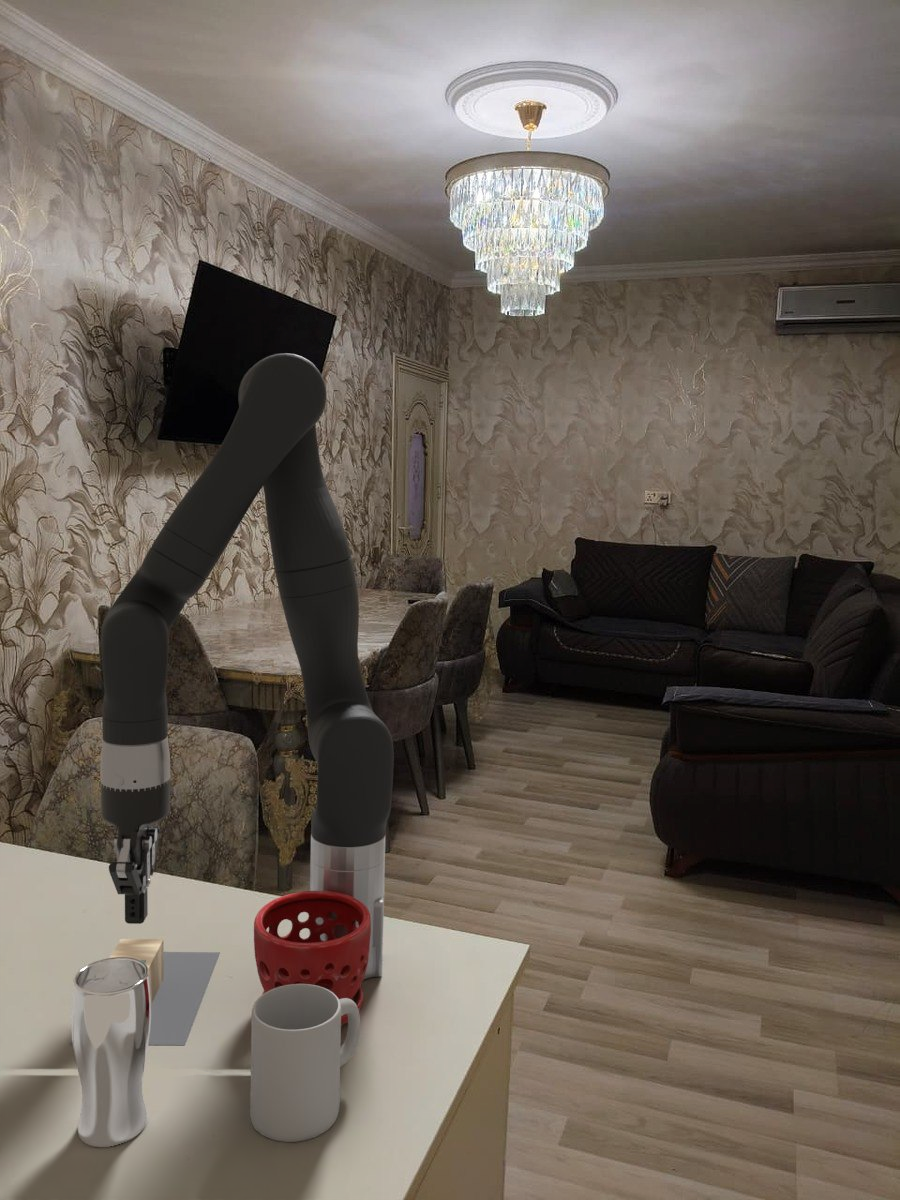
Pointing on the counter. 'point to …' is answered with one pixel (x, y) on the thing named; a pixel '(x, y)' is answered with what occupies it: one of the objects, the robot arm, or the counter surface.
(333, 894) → the plant pot
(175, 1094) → the counter surface
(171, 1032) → the rubber mat
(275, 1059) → the mug
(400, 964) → the counter surface
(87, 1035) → the beer glass
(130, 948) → the maple block
